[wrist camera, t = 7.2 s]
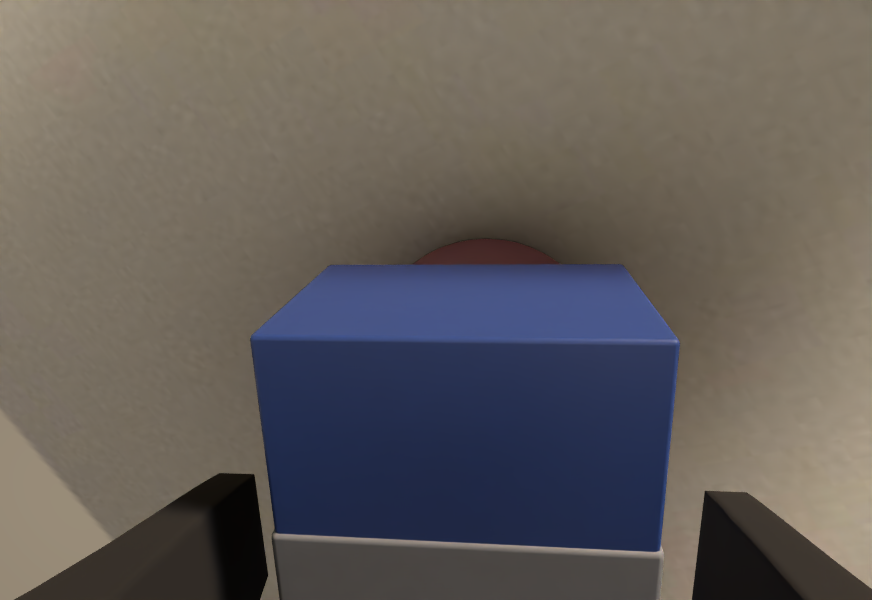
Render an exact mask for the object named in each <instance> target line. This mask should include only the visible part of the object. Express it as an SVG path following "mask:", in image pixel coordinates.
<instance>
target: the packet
mask: <svg viewBox="0 0 872 600" xmlns="http://www.w3.org/2000/svg"><path fill="white" fill-rule="evenodd" d="M250 342H251V349H252V357H253V365H254V372H255V380H256V388H257V395H258V403H259V411H260V419H261V426H262V434H263V442H264V449H265V457H266V465H267V472H268V480H269V488H270V495H271V503H272V511H273V518H274V526H275V529H274V531H273V533H272V545H273V553H274V560H275V568H276V575H277V583H278V590H279V598H280V600H660V595H661V584H662V574H663V564H664V553H663V550H662V547H661V536H662V525H663V515H664V505H665V494H666V484H667V474H668V463H669V453H670V442H671V432H672V422H673V411H674V401H675V391H676V380H677V370H678V359H679V349H680V343H679V340H678V338H677V337H676V336H675V334H674V333H673V332H672V330H671V329H670V328H669V326H668V325H667V324H666V322H665V321H664V320H663V318H662V317H661V315H660V314H659V313H658V311H657V310H656V309H655V307H654V306H653V305H652V303H651V302H650V301H649V299H648V298H647V297H646V295H645V294H644V293H643V291H642V290H641V288H640V287H639V286H638V284H637V283H636V282H635V280H634V279H633V278H632V276H631V275H630V274H629V272H628V271H627V270H626V268H625V267H624V266H623V265H621V264H457V265H330V266H328V267H327V268H326V269H324V270H323V271H322V272H321V273H320V274H319V275H318V276H317V277H316V278H314V279H313V280H312V281H311V282H310V283H309V284H308V285H307V286H306V287H304V288H303V289H302V290H301V291H300V292H299V293H298V294H297V295H296V296H294V297H293V298H292V299H291V300H290V301H289V302H288V303H287V304H286V305H284V306H283V307H282V308H281V309H280V310H279V311H278V312H277V313H276V314H274V315H273V316H272V317H271V318H270V319H269V320H268V321H267V322H265V323H264V324H263V325H262V326H261V327H260V328H259V329H258V330H257V331H255V332H254V333H253V334H252V335H251V338H250Z"/></svg>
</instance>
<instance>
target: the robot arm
mask: <svg viewBox="0 0 872 600" xmlns="http://www.w3.org/2000/svg"><path fill="white" fill-rule="evenodd" d="M267 577H268V570H267V563H266V556H265V548H264V541H263V534H262V527H261V519H260V512H259V505H258V498H257V490H256V483H255V476H254V474H229V473H219V474H217V475H215V476H214V477H212V478H210V479H208V480H206V481H205V482H203V483H201V484H200V485H198V486H197V487H195V488H193V489H192V490H190V491H189V492H187V493H186V494H184V495H182V496H181V497H179V498H178V499H176V500H175V501H173V502H172V503H170V504H169V505H167V506H166V507H164V508H163V509H161V510H159V511H158V512H156V513H155V514H153V515H152V516H150V517H149V518H147V519H146V520H144V521H143V522H141V523H139V524H138V525H136V526H135V527H133V528H132V529H130V530H129V531H127V532H126V533H124V534H123V535H121V536H119V537H118V538H116V539H115V540H113V541H112V542H110V543H109V544H107V545H105V546H104V547H102V548H101V549H99V550H98V551H96V552H94V553H92V554H91V555H89V556H87V557H86V558H84V559H82V560H81V561H79V562H77V563H76V564H74V565H72V566H71V567H69V568H68V569H66V570H64V571H62V572H61V573H59V574H58V575H56V576H54V577H52V578H51V579H49V580H47V581H46V582H44V583H42V584H41V585H39V586H38V587H36V588H34V589H32V590H31V591H29V592H27V593H25V594H24V595H22V596H20V597H18V598H16V599H15V600H260V598H261V595H262V592H263V589H264V586H265V583H266V580H267ZM692 600H872V589H871V588H870V587H868V586H867V585H866V584H864V583H863V582H862V581H860V580H859V579H858V578H856V577H855V576H854V575H852V574H851V573H850V572H849V571H847V570H846V569H845V568H843V567H842V566H841V565H839V564H838V563H837V562H836V561H834V560H833V559H832V558H830V557H829V556H828V555H827V554H825V553H824V552H823V551H822V550H820V549H819V548H818V547H816V546H815V545H814V544H813V543H811V542H810V541H809V540H808V539H806V538H805V537H804V536H803V535H801V534H800V533H799V532H798V531H796V530H795V529H794V528H793V527H791V526H790V525H789V524H788V523H786V522H785V521H784V520H782V519H781V518H780V517H779V516H777V515H776V514H775V513H774V512H772V511H771V510H770V509H768V508H767V507H766V506H765V505H763V504H762V503H761V502H759V501H758V500H757V499H755V498H754V497H752V496H751V495H750V494H748V493H747V492H720V491H705V494H704V503H703V511H702V520H701V528H700V536H699V545H698V553H697V562H696V570H695V579H694V587H693V595H692Z"/></svg>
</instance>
